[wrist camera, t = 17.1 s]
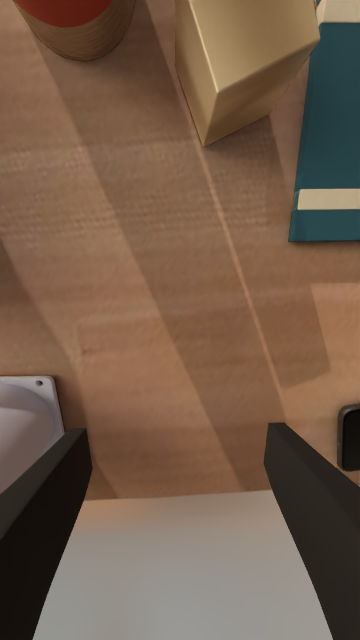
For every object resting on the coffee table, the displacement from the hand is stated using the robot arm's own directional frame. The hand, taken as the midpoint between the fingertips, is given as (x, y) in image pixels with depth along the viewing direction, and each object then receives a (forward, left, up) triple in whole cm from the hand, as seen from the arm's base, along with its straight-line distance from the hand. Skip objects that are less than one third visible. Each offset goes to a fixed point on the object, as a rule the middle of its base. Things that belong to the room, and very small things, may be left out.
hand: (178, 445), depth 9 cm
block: (+3, +17, -9) cm, 19 cm away
